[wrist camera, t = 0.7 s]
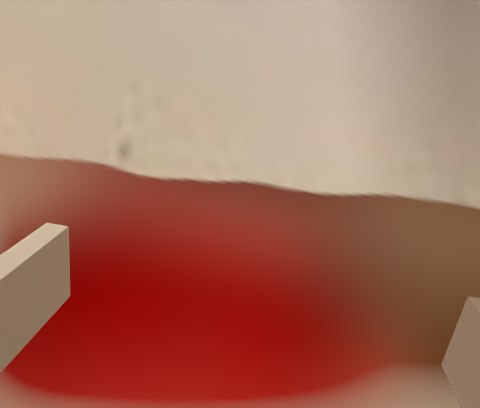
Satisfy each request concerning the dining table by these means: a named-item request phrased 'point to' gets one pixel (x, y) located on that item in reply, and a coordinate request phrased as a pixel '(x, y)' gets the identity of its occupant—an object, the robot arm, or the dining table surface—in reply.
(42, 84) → the dining table surface
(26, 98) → the dining table surface
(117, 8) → the dining table surface
